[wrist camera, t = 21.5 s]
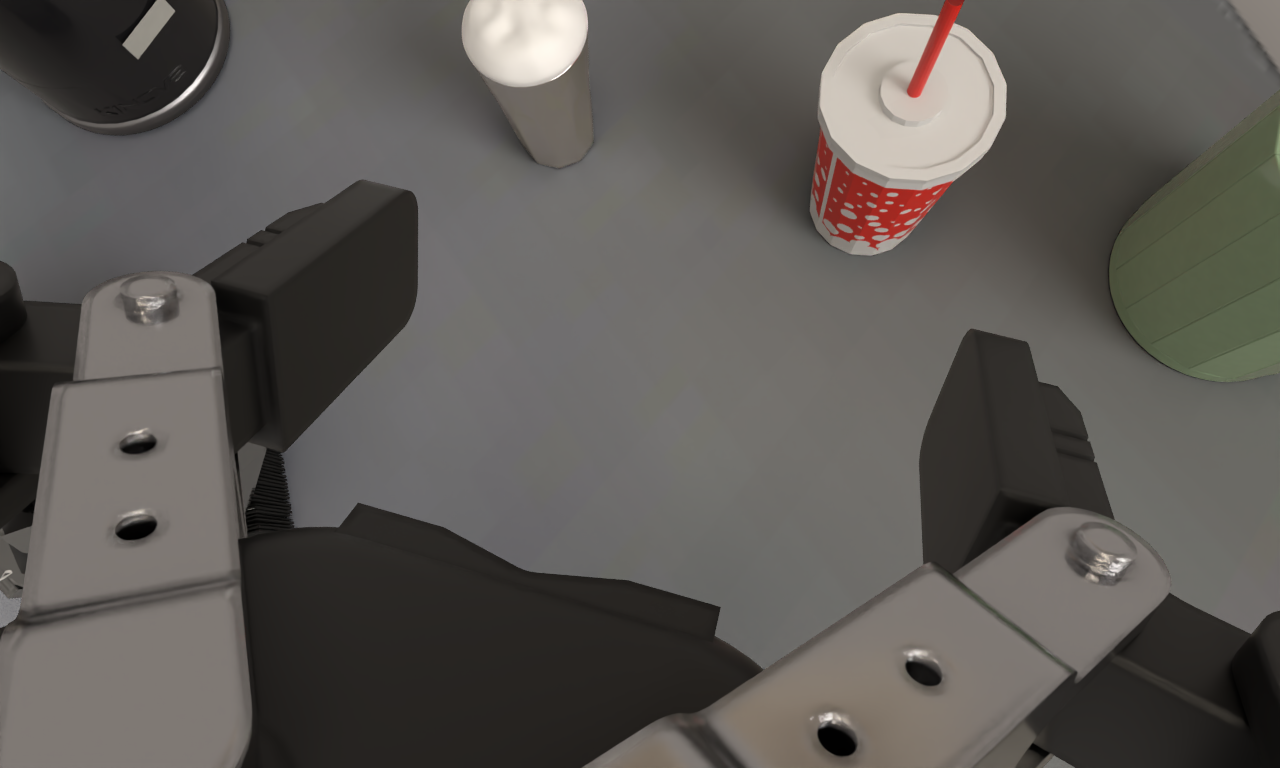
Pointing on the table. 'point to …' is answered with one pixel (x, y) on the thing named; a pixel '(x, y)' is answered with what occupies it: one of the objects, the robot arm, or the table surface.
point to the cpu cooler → (263, 494)
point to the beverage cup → (900, 125)
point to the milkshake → (536, 71)
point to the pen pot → (1209, 259)
